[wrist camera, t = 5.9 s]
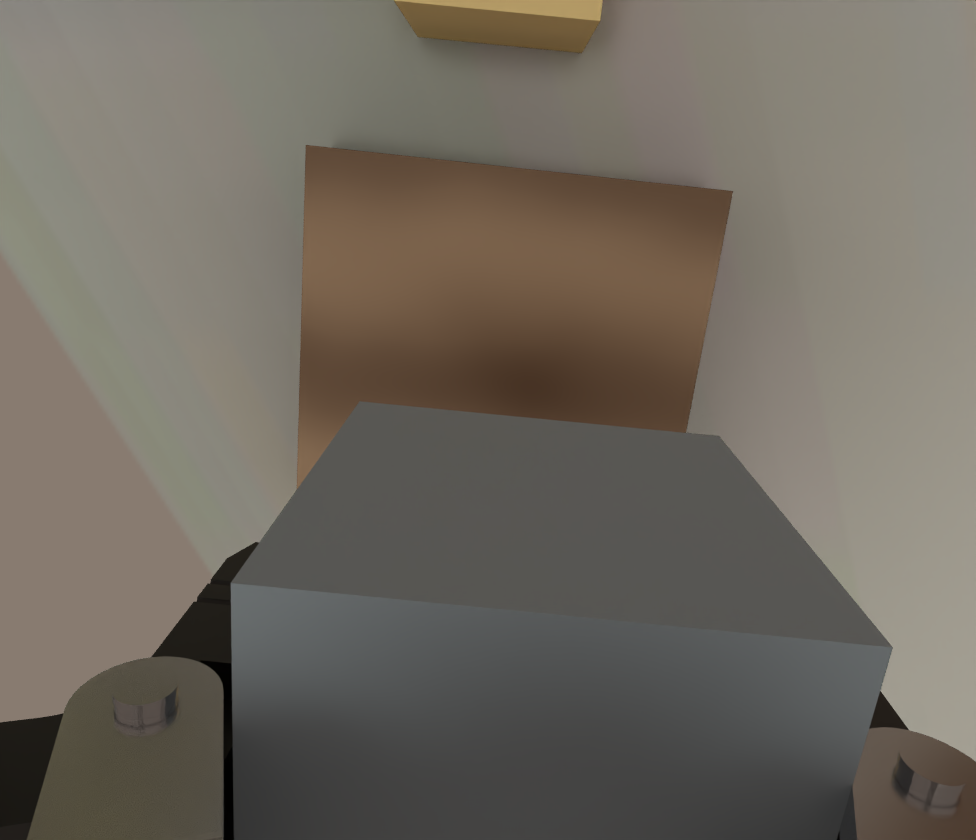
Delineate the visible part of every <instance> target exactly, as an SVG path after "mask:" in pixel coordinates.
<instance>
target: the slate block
mask: <svg viewBox="0 0 976 840" xmlns="http://www.w3.org/2000/svg"><path fill="white" fill-rule="evenodd" d="M231 648H232V727H233V807H234V840H837V837H838V833H839V829H840V825H841V822H842V819H843V815H844V812H845V808H846V805H847V802H848V798H849V795H850V791H851V788H852V785H853V782H854V778H855V775H856V772H857V768H858V765H859V761H860V758H861V755H862V751H863V748H864V744H865V741H866V737H867V734H868V731H869V727H870V724H871V720H872V717H873V713H874V710H875V707H876V703H877V700H878V696H879V693H880V690H881V686H882V683H883V679H884V676H885V672H886V669H887V666H888V662H889V659H890V655H891V652H892V648H893V647H892V646H891V645H890V643H889V642H888V641H887V640H886V639H885V637H884V636H883V635H882V634H881V633H880V631H879V630H878V629H877V628H876V626H875V625H874V624H873V623H872V622H871V620H870V619H869V618H868V617H867V616H866V614H865V613H864V612H863V611H862V609H861V608H860V607H859V606H858V605H857V603H856V602H855V601H854V600H853V598H852V597H851V596H850V595H849V594H848V592H847V591H846V590H845V589H844V588H843V586H842V585H841V584H840V583H839V581H838V580H837V579H836V578H835V577H834V575H833V574H832V573H831V572H830V571H829V569H828V568H827V567H826V566H825V564H824V563H823V562H822V561H821V560H820V558H819V557H818V556H817V555H816V554H815V552H814V551H813V550H812V549H811V547H810V546H809V545H808V544H807V543H806V541H805V540H804V539H803V538H802V536H801V535H800V534H799V533H798V532H797V530H796V529H795V528H794V527H793V526H792V524H791V523H790V522H789V521H788V519H787V518H786V517H785V516H784V515H783V513H782V512H781V511H780V510H779V509H778V507H777V506H776V505H775V504H774V502H773V501H772V500H771V499H770V498H769V496H768V495H767V494H766V493H765V492H764V490H763V489H762V488H761V487H760V485H759V484H758V483H757V482H756V481H755V479H754V478H753V477H752V476H751V474H750V473H749V472H748V471H747V470H746V468H745V467H744V466H743V465H742V464H741V462H740V461H739V460H738V459H737V457H736V456H735V455H734V454H733V453H732V451H731V450H730V449H729V448H728V447H727V445H726V444H725V443H724V442H723V440H722V439H721V438H720V437H719V436H713V435H702V434H692V433H682V432H671V431H661V430H651V429H640V428H630V427H619V426H609V425H599V424H588V423H578V422H568V421H557V420H547V419H537V418H526V417H516V416H506V415H495V414H485V413H474V412H464V411H454V410H443V409H433V408H423V407H412V406H402V405H392V404H381V403H371V402H361V401H360V402H359V403H358V404H357V406H356V407H355V409H354V410H353V411H352V413H351V414H350V416H349V417H348V418H347V420H346V421H345V423H344V424H343V425H342V427H341V428H340V430H339V431H338V433H337V434H336V435H335V437H334V438H333V440H332V441H331V442H330V444H329V445H328V447H327V448H326V449H325V451H324V452H323V454H322V455H321V456H320V458H319V459H318V461H317V462H316V464H315V465H314V466H313V468H312V469H311V471H310V472H309V473H308V475H307V476H306V478H305V479H304V480H303V482H302V483H301V485H300V486H299V487H298V489H297V490H296V492H295V493H294V495H293V496H292V497H291V499H290V500H289V502H288V503H287V504H286V506H285V507H284V509H283V510H282V511H281V513H280V514H279V516H278V517H277V518H276V520H275V521H274V523H273V524H272V526H271V527H270V528H269V530H268V531H267V533H266V534H265V535H264V537H263V538H262V540H261V541H260V542H259V544H258V545H257V547H256V548H255V550H254V551H253V552H252V554H251V555H250V557H249V558H248V559H247V561H246V562H245V564H244V565H243V566H242V568H241V569H240V571H239V572H238V573H237V575H236V576H235V578H234V579H233V581H232V582H231Z"/></svg>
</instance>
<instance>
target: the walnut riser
mask: <svg viewBox="0 0 976 840" xmlns="http://www.w3.org/2000/svg"><path fill="white" fill-rule="evenodd" d="M732 193H733V191H725V190H716V189H707V188H698V187H689V186H679V185H670V184H661V183H652V182H642V181H633V180H624V179H615V178H605V177H596V176H587V175H578V174H568V173H559V172H550V171H541V170H531V169H522V168H513V167H504V166H494V165H485V164H476V163H467V162H457V161H448V160H439V159H430V158H420V157H411V156H402V155H393V154H383V153H374V152H365V151H356V150H346V149H337V148H328V147H319V146H310V145H306V161H305V199H304V237H303V274H302V312H301V350H300V388H299V426H298V464H297V489H298V487H299V486H300V485H301V483H302V482H303V480H304V479H305V478H306V476H307V475H308V473H309V472H310V471H311V469H312V468H313V466H314V465H315V464H316V462H317V461H318V459H319V458H320V456H321V455H322V454H323V452H324V451H325V449H326V448H327V447H328V445H329V444H330V442H331V441H332V440H333V438H334V437H335V435H336V434H337V433H338V431H339V430H340V428H341V427H342V425H343V424H344V423H345V421H346V420H347V418H348V417H349V416H350V414H351V413H352V411H353V410H354V409H355V407H356V406H357V404H358V403H359V402H360V401H361V402H371V403H381V404H392V405H402V406H412V407H423V408H433V409H443V410H454V411H464V412H474V413H485V414H495V415H506V416H516V417H526V418H537V419H547V420H557V421H568V422H578V423H588V424H599V425H609V426H619V427H630V428H640V429H651V430H661V431H671V432H682V433H686V429H687V424H688V419H689V414H690V409H691V404H692V399H693V393H694V388H695V383H696V378H697V373H698V368H699V363H700V357H701V352H702V347H703V342H704V337H705V332H706V327H707V321H708V316H709V311H710V306H711V301H712V296H713V291H714V286H715V280H716V275H717V270H718V265H719V260H720V255H721V250H722V244H723V239H724V234H725V229H726V224H727V219H728V214H729V209H730V203H731V198H732Z"/></svg>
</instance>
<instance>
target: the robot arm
mask: <svg viewBox="0 0 976 840" xmlns="http://www.w3.org/2000/svg"><path fill="white" fill-rule="evenodd" d="M258 544H259V543H258V542H255V543H253V544H252V545H250V546H248V547H246V548H245V549H243V550H241V551H239V552H238V553H236V554H234V555H232V556H231V557H229V558H227V559H226V561H225V562H224V563H223V564H222V566H221V567H220V568H219V570H218V571H217V572H216V574H215V575H214V576H213V577H212V579H211V583H210V584H207V585H206V587H205V588H204V589H203V591H202V592H201V593H200V594H199V596H198V597H197V602H193V604H192V605H191V606H190V607H189V609H188V610H187V611H186V613H185V614H184V615H183V617H182V618H181V619H180V620H179V622H178V623H177V624H176V626H175V627H174V628H173V630H172V631H171V632H170V634H169V635H168V636H167V637H166V639H165V640H164V641H163V643H162V644H161V646H160V647H159V648H158V649H157V650H156V652H155V653H154V654H153V656H152V657H150V658H143V659H138V660H134V661H130V662H126V663H123V664H120V665H117V666H114V667H112V668H110V669H108V670H106V671H103V672H101V673H100V674H98V675H96V676H95V677H93V678H91V679H90V680H89V681H87V682H86V683H85V684H83V685H82V686H81V687H80V688H79V689H78V690H77V691H76V692H75V693H74V694H73V696H72V697H71V698H70V700H69V701H68V703H67V705H66V708H65V710H64V713H63V714H59V715H54V716H49V717H42V718H34V719H26V720H17V721H9V722H2V723H0V840H234V807H233V727H232V648H231V582H232V581H233V579H234V578H235V576H236V575H237V573H238V572H239V571H240V569H241V568H242V566H243V565H244V564H245V562H246V561H247V559H248V558H249V557H250V555H251V554H252V552H253V551H254V550H255V548H256V547H257V545H258ZM837 840H976V761H974V760H973V759H972V758H970V757H969V756H967V755H965V754H964V753H962V752H960V751H959V750H957V749H955V748H953V747H951V746H949V745H948V744H946V743H944V742H941V741H939V740H937V739H934V738H932V737H929V736H926V735H923V734H920V733H917V732H913V731H909V730H908V728H907V727H906V725H905V724H904V723H903V721H902V720H901V719H900V717H899V716H898V714H897V713H896V712H895V710H894V709H893V708H892V706H891V705H890V703H889V702H888V701H887V699H886V698H885V697H884V695H883V694H882V693H881V691H880V693H879V696H878V700H877V703H876V707H875V710H874V713H873V717H872V720H871V724H870V727H869V731H868V734H867V737H866V741H865V744H864V748H863V751H862V755H861V758H860V761H859V765H858V768H857V772H856V775H855V778H854V782H853V785H852V788H851V791H850V795H849V798H848V802H847V805H846V808H845V812H844V815H843V819H842V822H841V825H840V829H839V833H838V837H837Z"/></svg>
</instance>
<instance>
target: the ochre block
mask: <svg viewBox="0 0 976 840" xmlns="http://www.w3.org/2000/svg"><path fill="white" fill-rule="evenodd" d="M394 1H395V3H396V4H397V6H398V7H399V9H400V10H401V12H402V13H403V15H404V16H405V18H406V19H407V21H408V23H409V24H410V26H411V27H412V29H413V30H414V32H415V33H416V35H417V36H418V37H424V38H434V39H444V40H454V41H464V42H474V43H485V44H495V45H505V46H515V47H525V48H536V49H546V50H556V51H566V52H576V53H582V52H583V50H584V48H585V47H586V45H587V43H588V41H589V40H590V38H591V36H592V34H593V33H594V31H595V29H596V27H597V26H598V24H599V22H600V18H601V10H602V2H603V0H394Z"/></svg>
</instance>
